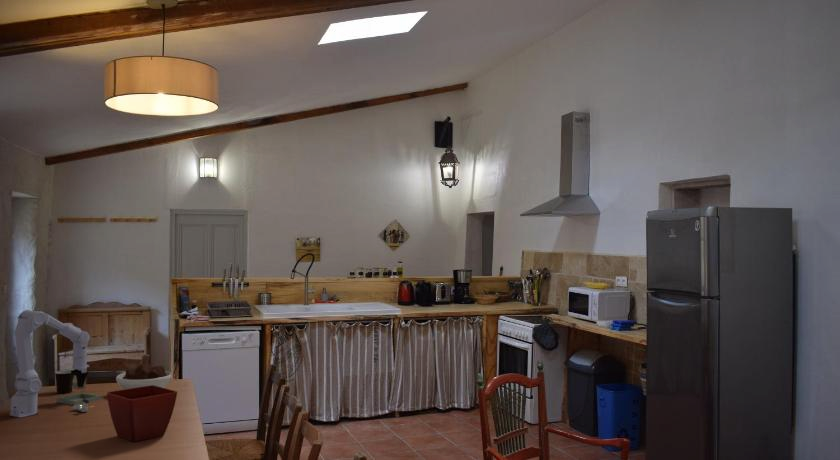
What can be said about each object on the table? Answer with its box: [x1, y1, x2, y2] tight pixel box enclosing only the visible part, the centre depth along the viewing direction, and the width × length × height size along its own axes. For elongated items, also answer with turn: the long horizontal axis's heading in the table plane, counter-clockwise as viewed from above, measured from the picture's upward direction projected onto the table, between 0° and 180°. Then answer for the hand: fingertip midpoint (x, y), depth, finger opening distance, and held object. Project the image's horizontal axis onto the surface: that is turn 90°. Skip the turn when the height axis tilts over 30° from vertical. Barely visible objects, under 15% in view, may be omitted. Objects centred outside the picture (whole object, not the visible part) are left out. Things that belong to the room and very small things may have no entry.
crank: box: [72, 399, 90, 413], centre depth 287 cm, size 10×4×5 cm, turn 53°
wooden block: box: [72, 375, 87, 391], centre depth 306 cm, size 4×4×6 cm
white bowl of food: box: [115, 363, 172, 390], centre depth 323 cm, size 25×25×15 cm
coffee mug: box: [54, 369, 74, 395], centre depth 327 cm, size 12×9×10 cm
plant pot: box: [106, 385, 178, 443], centre depth 255 cm, size 19×19×17 cm
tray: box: [56, 392, 102, 406], centre depth 306 cm, size 13×13×2 cm
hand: (79, 386), depth 306 cm, fingers closed on wooden block, 4 cm apart
